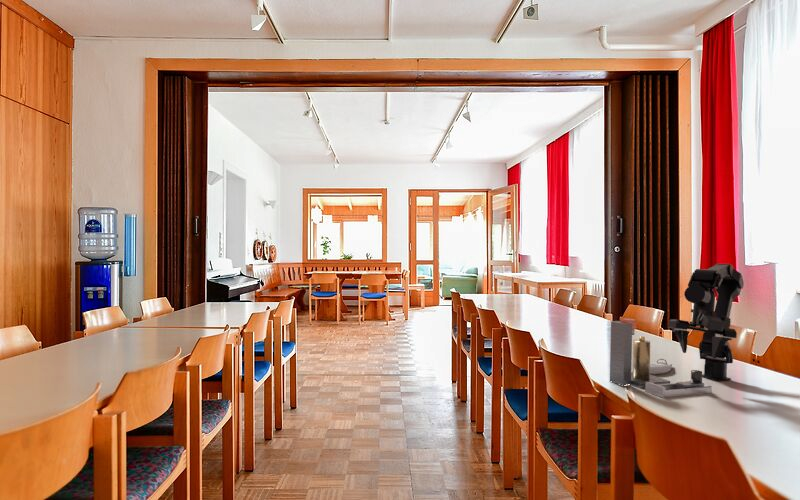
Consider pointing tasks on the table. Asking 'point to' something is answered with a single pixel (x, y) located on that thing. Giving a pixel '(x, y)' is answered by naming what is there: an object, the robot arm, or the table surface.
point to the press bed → (625, 355)
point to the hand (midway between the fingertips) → (699, 355)
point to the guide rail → (670, 391)
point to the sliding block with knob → (692, 381)
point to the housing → (641, 358)
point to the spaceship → (660, 367)
